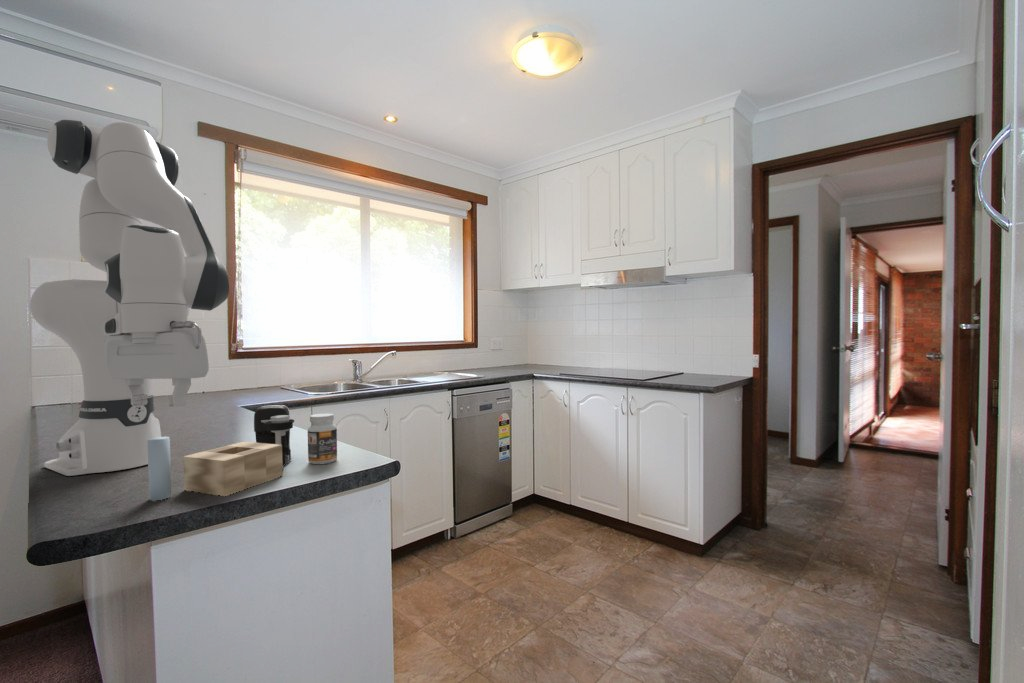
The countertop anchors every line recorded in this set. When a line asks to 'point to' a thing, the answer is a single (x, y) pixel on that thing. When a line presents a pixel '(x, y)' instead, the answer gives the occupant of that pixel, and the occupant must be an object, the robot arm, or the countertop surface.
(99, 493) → the countertop surface
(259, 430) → the coffee maker
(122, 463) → the robot arm
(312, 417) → the pill bottle
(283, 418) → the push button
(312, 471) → the countertop surface
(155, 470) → the peg
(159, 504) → the countertop surface
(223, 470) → the socket block
